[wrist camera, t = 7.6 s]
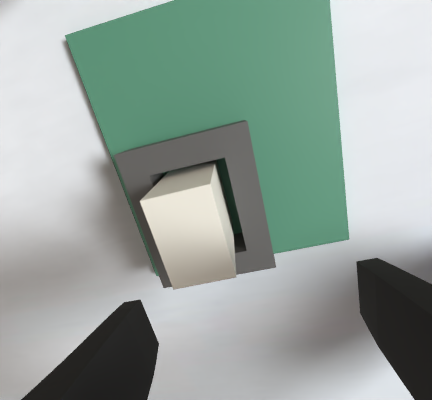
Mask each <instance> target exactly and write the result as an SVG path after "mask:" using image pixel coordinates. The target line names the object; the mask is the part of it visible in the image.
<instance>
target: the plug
mask: <svg viewBox="0 0 432 400" xmlns="http://www.w3.org/2000/svg"><path fill="white" fill-rule="evenodd" d="M140 203H141V206H142V209H143V211H144V214H145V216H146V219H147V222H148V224H149V227H150V229H151V232H152V235H153V237H154V240H155V243H156V245H157V248H158V250H159V253H160V256H161V258H162V261H163V263H164V266H165V269H166V271H167V274H168V277H169V279H170V282H171V284H172V287H173V290H174V289H179V288H184V287H189V286H194V285H199V284H204V283H210V282H215V281H220V280H225V279H230V278H235V277H236V264H235V249H234V234H233V221H232V218H231V214H230V210H229V206H228V202H227V199H226V195H225V191H224V187H223V183H222V180H221V176H220V172H219V168H218V164H217V160H212V161H208V162H204V163H200V164H196V165H191V166H187V167H183V168H179V169H175V170H171V171H169V172H168V173H167V174H166V175H165V176H164V177H163V178H162V179H161V180H160V181H159V182H158V183H157V184H156V185H155V186H154V187H153V188H152V189H151V190H150V191H149V192H148V193H147V194H146V195H145V196H144V197H143V198H142V199H141V200H140Z"/></svg>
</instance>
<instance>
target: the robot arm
mask: <svg viewBox="0 0 432 400" xmlns="http://www.w3.org/2000/svg"><path fill="white" fill-rule="evenodd" d="M357 275H358V288H359V302H360V313H361V315H362V317H363V319H364V321H365V323H366V325H367V327H368V329H369V330H370V332H371V334H372V336H373V338H374V340H375V341H376V343H377V345H378V347H379V348H380V350H381V351H382V353H383V354H384V356H385V357H386V359H387V360H388V362H389V363H390V364H391V366H392V367H393V369H394V370H395V372H396V373H397V375H398V376H399V378H400V379H401V381H402V382H403V383H404V385H405V386H406V388H407V389H408V391H409V392H410V394H411V395H412V396H413V398H414V399H415V400H432V284H430V283H428V282H426V281H424V280H422V279H420V278H418V277H415V276H413V275H411V274H409V273H407V272H405V271H403V270H401V269H399V268H397V267H395V266H393V265H391V264H389V263H387V262H385V261H383V260H380V259H378V258H374V259H369V260H363V261H357ZM158 346H159V343H158V341H157V338H156V336H155V333H154V331H153V329H152V326H151V324H150V321H149V319H148V317H147V314H146V312H145V309H144V307H143V305H142V302H141V300H135V301H129V302H124V303H123V304H122V305H121V306H119V307H118V308H117V309H116V310H115V311H114V312H113V313H112V314H111V315H110V316H109V317H108V318H107V319H106V320H105V321H104V322H103V323H102V324H101V325H99V326H98V327H97V328H96V329H95V330H94V331H93V332H92V333H91V334H90V335H89V336H88V337H87V338H86V339H85V340H84V341H83V342H82V343H81V344H80V345H79V346H78V347H77V348H76V349H75V350H74V351H73V352H72V353H71V354H70V355H69V356H68V357H67V358H66V359H65V360H64V361H63V362H62V363H60V364H59V365H58V366H57V367H56V368H55V369H54V370H53V371H52V372H51V373H50V374H49V375H48V376H46V377H45V378H44V379H43V380H42V381H41V382H40V383H39V384H38V385H37V386H36V387H35V388H34V389H33V390H31V391H30V392H29V393H28V394H27V395H26V396H25V397H24V398H23V399H21V400H147V398H148V395H149V391H150V387H151V384H152V380H153V376H154V371H155V365H156V359H157V353H158Z"/></svg>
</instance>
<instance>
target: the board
mask: <svg viewBox="0 0 432 400" xmlns="http://www.w3.org/2000/svg"><path fill="white" fill-rule="evenodd" d="M65 37H66V40H67V42H68V45H69V48H70V50H71V53H72V55H73V58H74V61H75V63H76V66H77V69H78V71H79V74H80V76H81V79H82V82H83V84H84V87H85V90H86V92H87V95H88V97H89V100H90V103H91V105H92V108H93V111H94V113H95V116H96V118H97V121H98V124H99V126H100V129H101V132H102V134H103V137H104V139H105V142H106V145H107V147H108V150H109V153H110V155H111V158H112V160H113V163H114V166H115V168H116V171H117V174H118V176H119V179H120V181H121V184H122V187H123V189H124V192H125V195H126V197H127V200H128V202H129V205H130V208H131V210H132V213H133V216H134V218H135V221H136V223H137V226H138V229H139V231H140V234H141V237H142V239H143V242H144V244H145V247H146V250H147V252H148V255H149V258H150V260H151V263H152V265H153V268H154V271H155V273H156V276H159V277H160V280H161V282H162V285H163V288H167V287H172V284H171V282H170V279H169V277H168V274H167V271H166V269H165V266H164V263H163V261H162V258H161V256H160V253H159V250H158V248H157V245H156V243H155V240H154V237H153V235H152V232H151V229H150V227H149V224H148V222H147V219H146V216H145V214H144V211H143V209H142V206H141V203H140V200H141V199H142V198H143V197H144V196H145V195H146V194H147V193H148V192H149V191H150V190H151V189H152V188H153V187H154V186H155V185H156V184H157V183H158V182H159V181H160V180H161V179H162V178H163V177H164V176H165V175H166V174H167V173H168V172H169V171H171V170H175V169H179V168H183V167H187V166H191V165H196V164H200V163H204V162H208V161H212V160H217V164H218V168H219V172H220V176H221V180H222V183H223V187H224V191H225V195H226V199H227V202H228V206H229V210H230V214H231V218H232V221H233V234H234V249H235V264H236V275H237V274H243V273H248V272H254V271H259V270H264V269H270V268H275V267H276V264H275V259H274V254H275V253H281V252H286V251H291V250H296V249H302V248H307V247H312V246H317V245H323V244H328V243H333V242H338V241H344V240H349V231H348V219H347V207H346V194H345V182H344V170H343V158H342V146H341V133H340V121H339V109H338V97H337V85H336V73H335V60H334V48H333V36H332V24H331V12H330V0H174V1H170V2H167V3H164V4H161V5H158V6H155V7H152V8H149V9H145V10H142V11H139V12H136V13H133V14H130V15H127V16H124V17H121V18H117V19H114V20H111V21H108V22H105V23H102V24H99V25H96V26H93V27H89V28H86V29H83V30H80V31H77V32H74V33H71V34H68V35H65Z"/></svg>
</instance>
